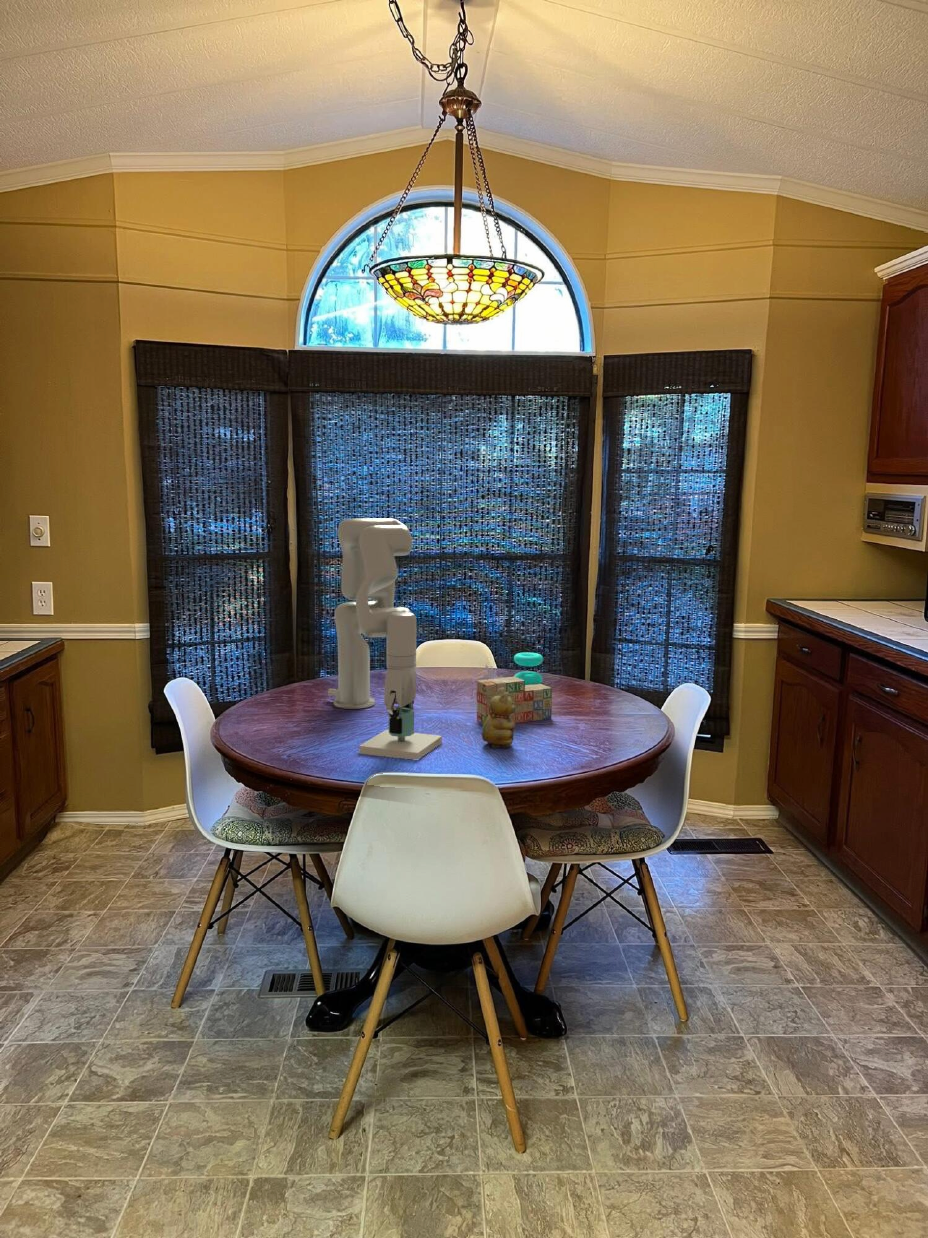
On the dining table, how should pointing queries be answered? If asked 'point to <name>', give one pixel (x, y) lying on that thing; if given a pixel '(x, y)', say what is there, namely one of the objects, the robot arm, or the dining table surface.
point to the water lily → (492, 673)
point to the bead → (405, 723)
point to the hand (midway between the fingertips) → (401, 729)
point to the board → (400, 745)
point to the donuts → (529, 660)
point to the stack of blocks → (515, 699)
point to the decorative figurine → (499, 721)
